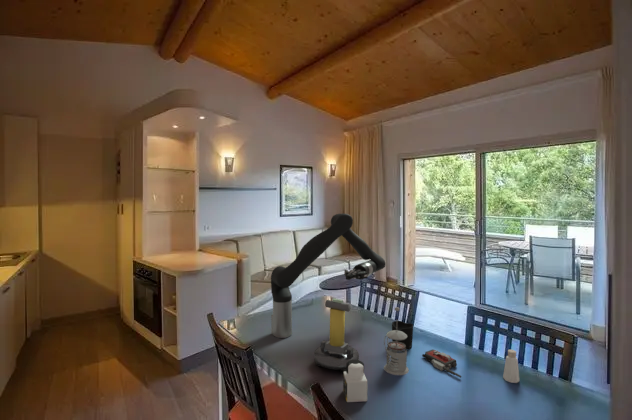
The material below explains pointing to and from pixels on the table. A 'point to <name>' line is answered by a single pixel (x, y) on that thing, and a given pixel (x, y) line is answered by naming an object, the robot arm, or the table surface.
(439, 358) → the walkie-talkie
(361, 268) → the robot arm
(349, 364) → the medicine bottle
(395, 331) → the french press
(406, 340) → the pen holder
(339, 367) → the dark grey round stand
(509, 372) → the pepper shaker
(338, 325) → the yellow mallet
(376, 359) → the table surface
